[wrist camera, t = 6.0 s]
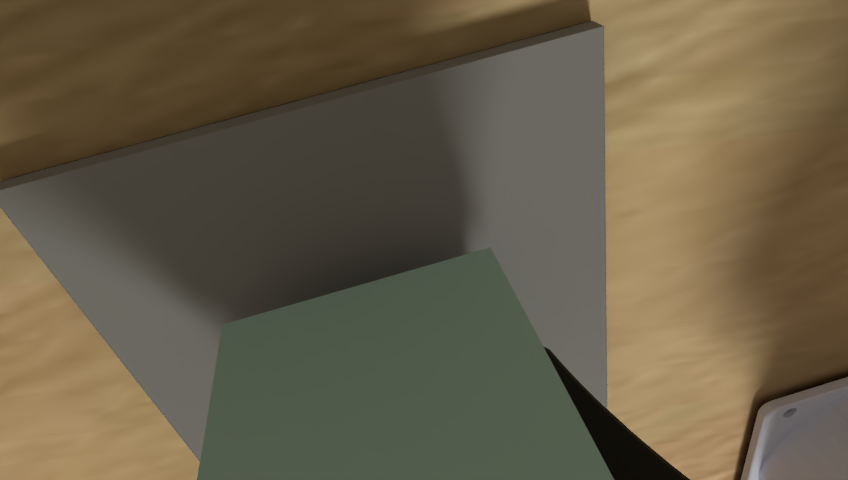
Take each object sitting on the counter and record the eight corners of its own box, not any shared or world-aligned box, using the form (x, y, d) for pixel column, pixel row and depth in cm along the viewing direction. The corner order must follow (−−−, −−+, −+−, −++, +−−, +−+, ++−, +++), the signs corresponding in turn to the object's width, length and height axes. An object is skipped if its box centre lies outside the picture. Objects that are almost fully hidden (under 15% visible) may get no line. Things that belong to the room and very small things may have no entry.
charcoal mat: (592, 20, 11) (603, 26, 10) (599, 394, 18) (607, 406, 17) (2, 180, 10) (-12, 193, 10) (245, 503, 17) (244, 518, 17)
